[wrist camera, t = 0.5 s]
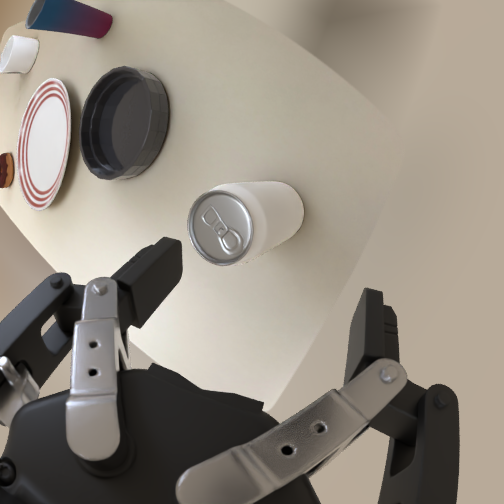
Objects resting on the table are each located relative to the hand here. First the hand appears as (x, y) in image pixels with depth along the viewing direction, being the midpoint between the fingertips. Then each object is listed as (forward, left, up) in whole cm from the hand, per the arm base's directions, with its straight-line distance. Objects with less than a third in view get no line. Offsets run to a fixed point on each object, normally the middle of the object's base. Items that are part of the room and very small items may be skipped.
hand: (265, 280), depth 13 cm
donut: (-25, -81, -20) cm, 87 cm away
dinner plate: (-23, -53, -20) cm, 61 cm away
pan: (-17, -27, -20) cm, 38 cm away
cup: (-40, -33, -20) cm, 55 cm away
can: (-2, -7, -20) cm, 21 cm away
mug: (-54, -67, -20) cm, 88 cm away
